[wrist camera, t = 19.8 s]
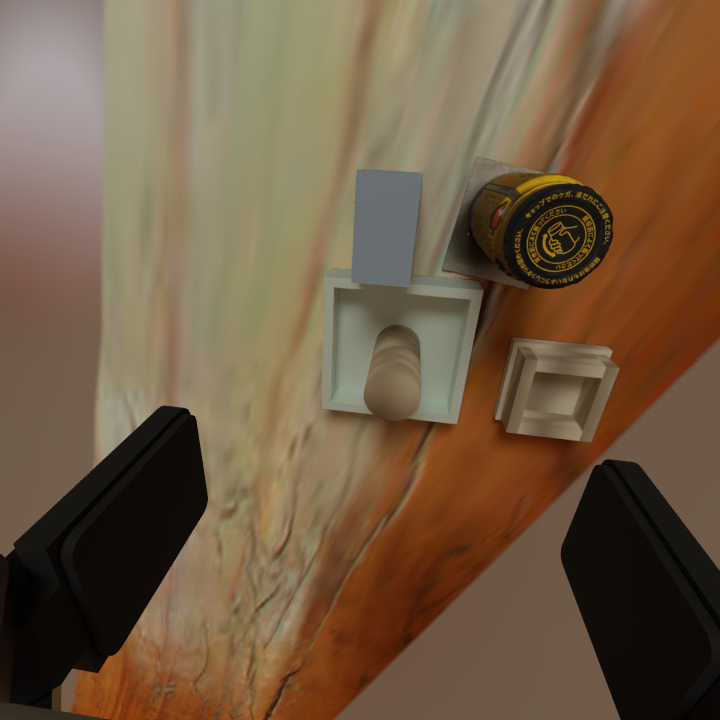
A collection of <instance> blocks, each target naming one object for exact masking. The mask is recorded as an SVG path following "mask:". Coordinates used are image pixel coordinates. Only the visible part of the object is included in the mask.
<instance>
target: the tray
mask: <svg viewBox="0 0 720 720" xmlns="http://www.w3.org/2000/svg"><path fill="white" fill-rule="evenodd" d="M351 278H352V270H349V269H337V268H331V269H330V270H329V271H328V273H327V274H326V275H325V276H324V320H323V376H322V409H331V410H339V411H348V412H356V413H365V414H372V413H371V412H370V411H369V409H368V408H367V406H366V404H365V402H364V389H365V384H366V380H367V376H368V372H369V368H370V364H371V360H372V355H373V351H374V347H375V343H376V339H377V337H378V335H379V333H380V332H381V331H382V330H383V329H385V328H386V327H388V326H391V325H404V326H407V327H409V328H411V329H412V330H413V331H414V332H415V333H416V334H417V336H418V338H419V340H420V374H421V401H420V404H419V407H418V409H417V410H416V411H415V413H413V414H412V415H411V416H410V417H408V418H407V419H416V420H424V421H433V422H441V423H450V424H457V422H458V417H459V412H460V407H461V402H462V397H463V392H464V387H465V382H466V377H467V371H468V366H469V361H470V356H471V351H472V346H473V341H474V336H475V331H476V326H477V321H478V316H479V311H480V306H481V301H482V296H483V291H484V290H483V289H482V287H481V285H480V283H479V282H478V281H476V280H464V279H453V278H441V277H430V276H418V275H411V280H410V288H408V287H397V286H385V285H374V284H363V283H352V282H351ZM373 415H374V414H373Z"/></svg>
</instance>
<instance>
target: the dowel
mask: <svg viewBox="0 0 720 720" xmlns="http://www.w3.org/2000/svg"><path fill="white" fill-rule="evenodd" d="M420 401H421V374H420V340H419V338H418V336H417V334H416V333H415V332H414V331H413V330H412V329H411V328H409V327H407V326H404V325H391V326H388V327H386V328H385V329H383V330H382V331H381V332H380V333H379V335H378V337H377V339H376V343H375V347H374V351H373V355H372V360H371V364H370V368H369V372H368V376H367V380H366V384H365V389H364V402H365V404H366V406H367V408H368V409H369V411H370V412H371V413H372V414H374V415H375V416H377V417H379V418H381V419H384V420H388V421H399V420H403V419H406V418H408V417H410V416H411V415H412V414H413V413H415V411H416V410H417V409H418V407H419V404H420Z"/></svg>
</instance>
